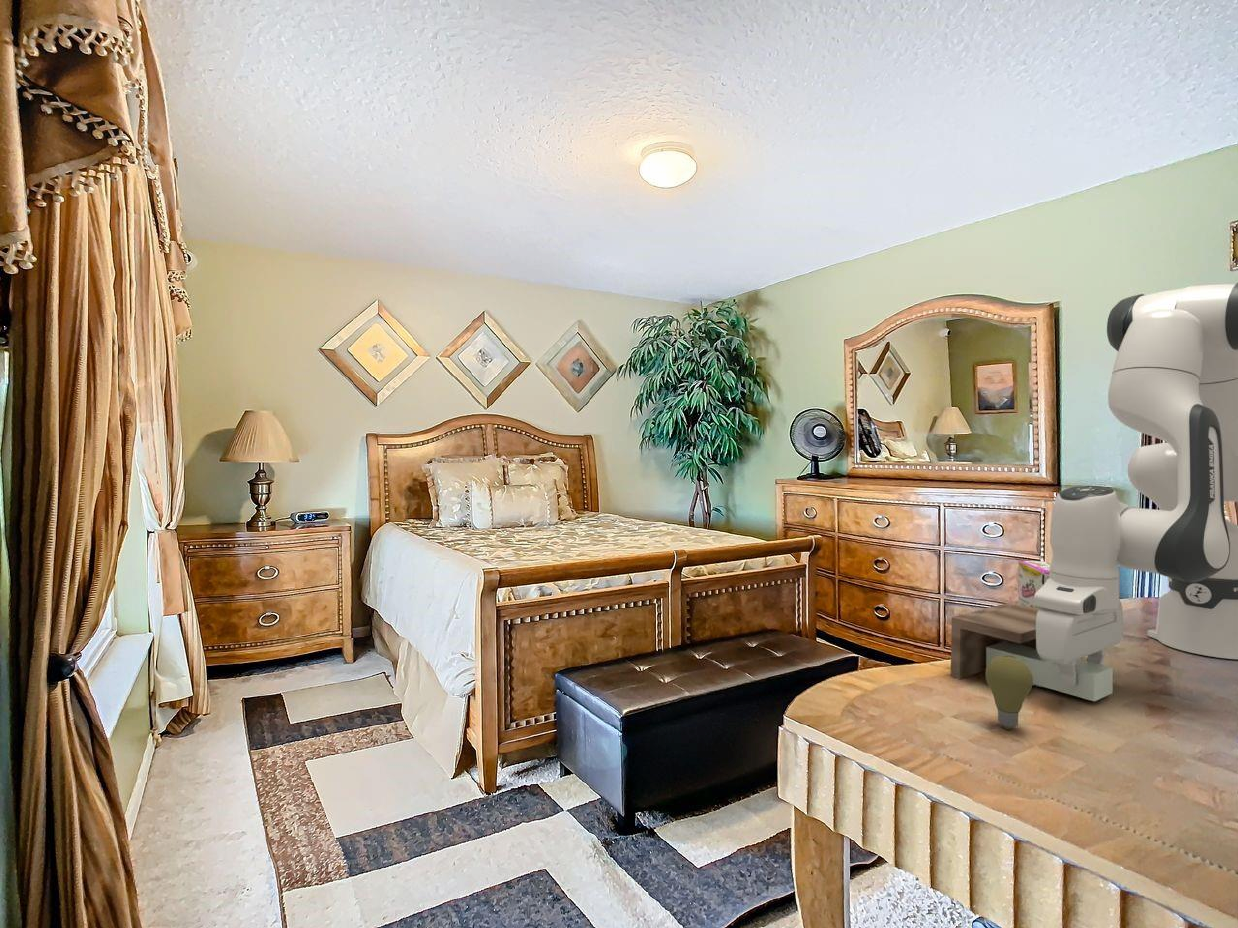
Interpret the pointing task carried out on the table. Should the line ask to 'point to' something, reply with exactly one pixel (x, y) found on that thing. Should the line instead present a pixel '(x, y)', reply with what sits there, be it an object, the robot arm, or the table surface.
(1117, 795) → the table surface
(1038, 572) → the candy bar box
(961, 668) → the walnut shelf
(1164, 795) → the table surface
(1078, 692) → the mint green beam
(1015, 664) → the light bulb
